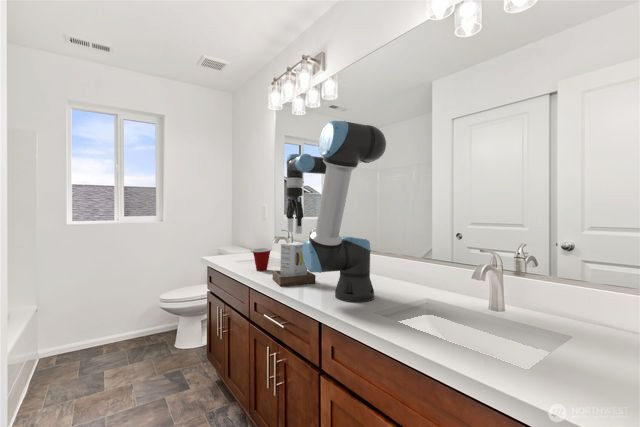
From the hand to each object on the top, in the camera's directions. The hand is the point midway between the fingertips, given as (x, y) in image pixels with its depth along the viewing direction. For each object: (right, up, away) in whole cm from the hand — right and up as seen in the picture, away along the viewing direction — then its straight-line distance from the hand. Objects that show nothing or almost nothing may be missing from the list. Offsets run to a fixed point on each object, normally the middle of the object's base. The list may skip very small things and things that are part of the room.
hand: (294, 232), depth 144 cm
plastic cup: (-21, -23, +28) cm, 42 cm away
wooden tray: (0, -23, 0) cm, 23 cm away
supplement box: (0, -22, +1) cm, 22 cm away
